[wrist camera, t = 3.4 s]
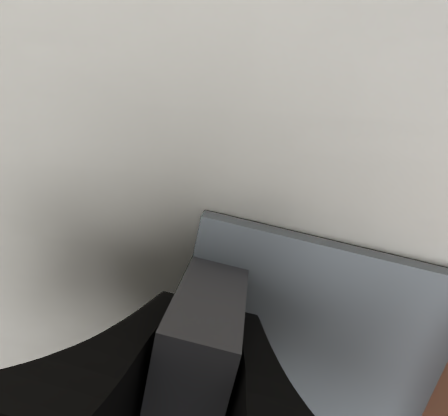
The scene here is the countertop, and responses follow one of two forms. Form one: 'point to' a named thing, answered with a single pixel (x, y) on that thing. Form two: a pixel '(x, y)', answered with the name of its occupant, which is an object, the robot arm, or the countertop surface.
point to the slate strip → (300, 323)
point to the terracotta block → (439, 397)
